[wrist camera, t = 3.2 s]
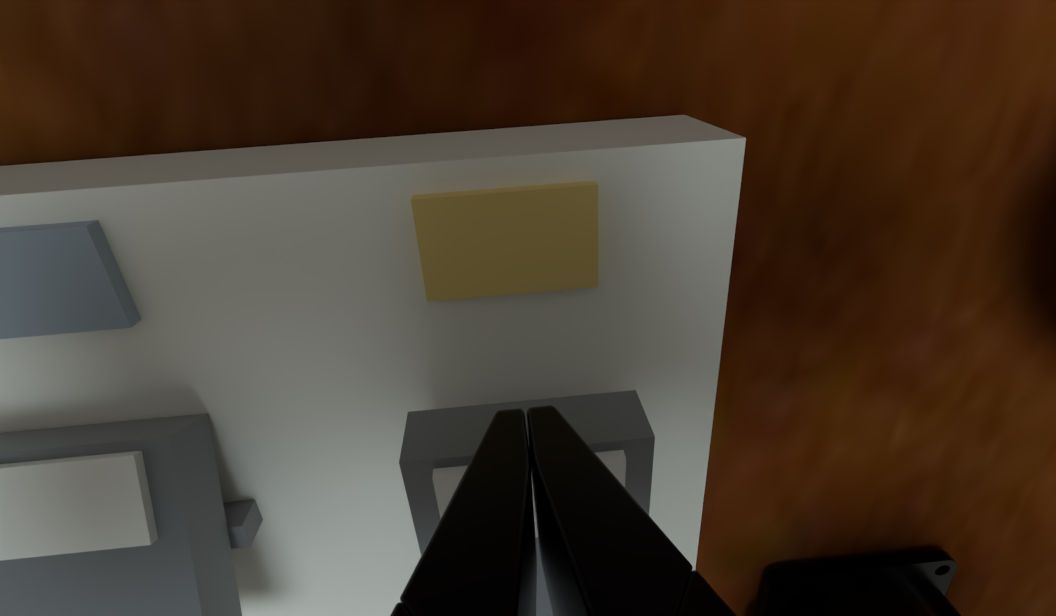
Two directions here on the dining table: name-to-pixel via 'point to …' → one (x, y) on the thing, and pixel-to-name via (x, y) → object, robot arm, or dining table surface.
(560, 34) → the dining table surface
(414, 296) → the console
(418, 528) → the block
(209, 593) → the grey box
